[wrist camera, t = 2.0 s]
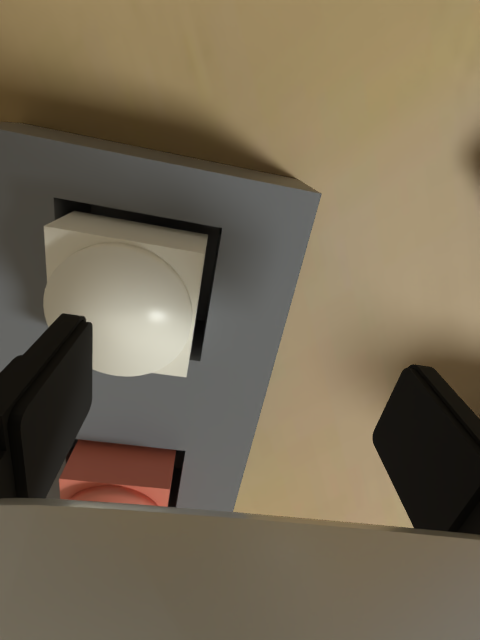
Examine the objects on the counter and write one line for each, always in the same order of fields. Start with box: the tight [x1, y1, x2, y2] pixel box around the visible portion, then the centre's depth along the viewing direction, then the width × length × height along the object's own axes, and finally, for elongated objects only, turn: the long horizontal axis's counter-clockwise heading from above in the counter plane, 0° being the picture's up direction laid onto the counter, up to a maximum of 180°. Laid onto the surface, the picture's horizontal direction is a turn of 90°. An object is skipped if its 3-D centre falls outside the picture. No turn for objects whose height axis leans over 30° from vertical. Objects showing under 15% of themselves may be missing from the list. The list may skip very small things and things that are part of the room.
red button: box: [59, 439, 176, 507], centre depth 19 cm, size 5×5×3 cm
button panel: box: [0, 122, 321, 512], centre depth 20 cm, size 22×13×5 cm, turn 169°
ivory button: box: [43, 211, 208, 377], centre depth 14 cm, size 5×5×3 cm
